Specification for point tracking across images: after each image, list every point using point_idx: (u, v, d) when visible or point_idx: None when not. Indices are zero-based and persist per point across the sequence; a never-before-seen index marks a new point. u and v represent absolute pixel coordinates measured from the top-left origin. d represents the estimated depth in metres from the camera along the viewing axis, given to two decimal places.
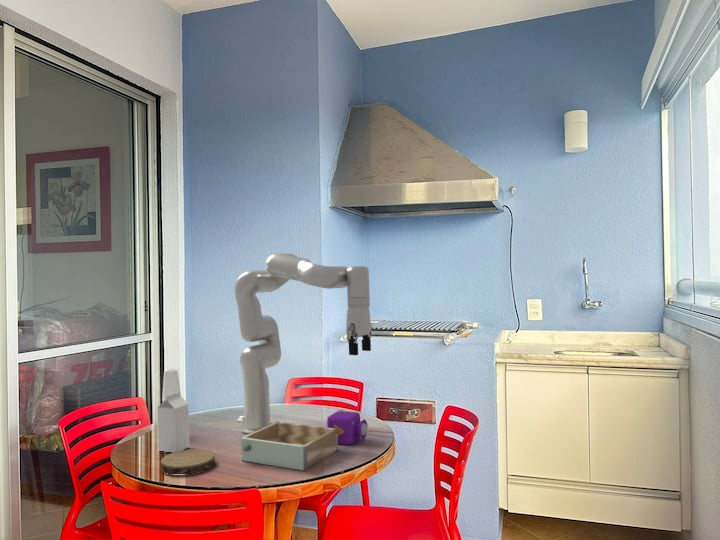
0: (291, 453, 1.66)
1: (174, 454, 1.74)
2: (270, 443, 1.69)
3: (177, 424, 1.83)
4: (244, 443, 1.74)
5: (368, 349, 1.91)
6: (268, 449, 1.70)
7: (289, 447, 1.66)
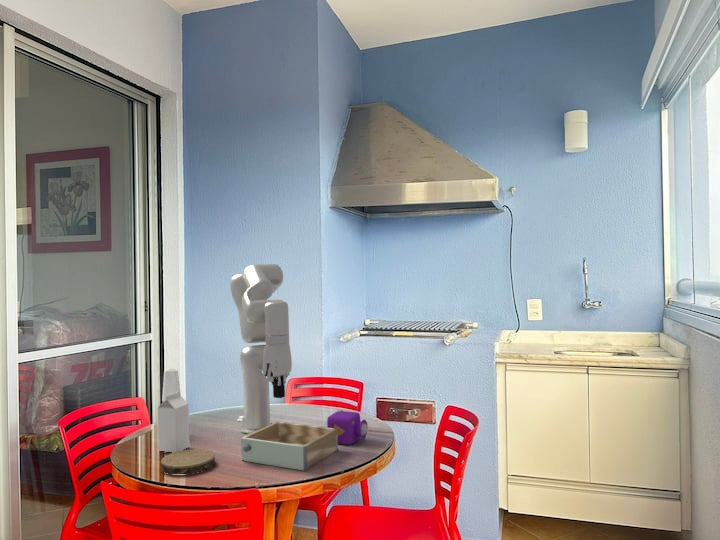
0: (291, 453, 1.66)
1: (174, 454, 1.74)
2: (270, 443, 1.69)
3: (177, 424, 1.83)
4: (244, 443, 1.74)
5: None
6: (268, 449, 1.70)
7: (289, 447, 1.66)
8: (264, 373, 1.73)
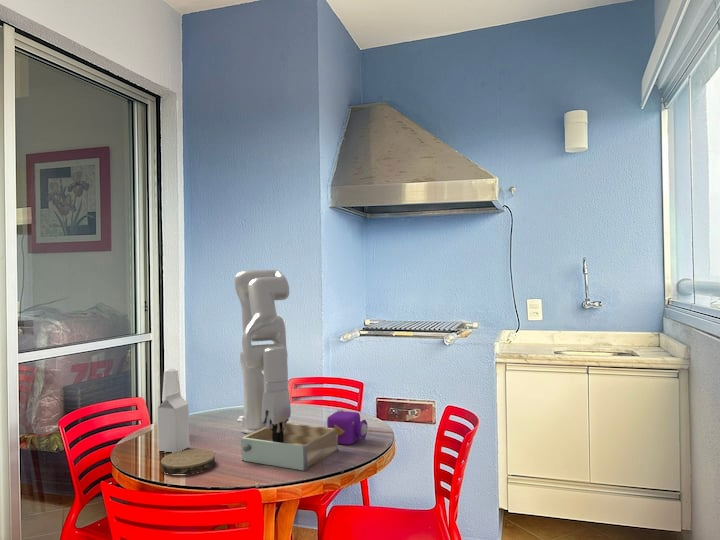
0: (291, 453, 1.66)
1: (174, 454, 1.74)
2: (270, 443, 1.69)
3: (177, 424, 1.83)
4: (244, 443, 1.74)
5: None
6: (268, 449, 1.70)
7: (289, 447, 1.66)
8: (263, 420, 1.72)
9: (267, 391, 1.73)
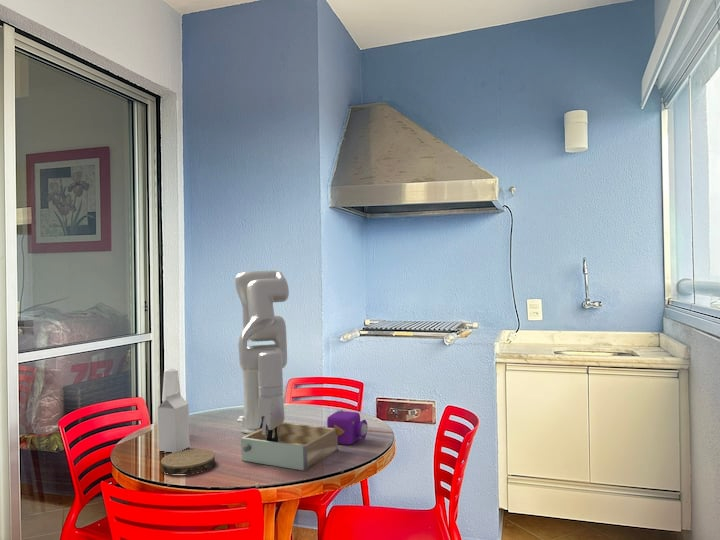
0: (291, 453, 1.66)
1: (174, 454, 1.74)
2: (270, 443, 1.69)
3: (177, 424, 1.83)
4: (244, 443, 1.74)
5: None
6: (268, 449, 1.70)
7: (289, 447, 1.66)
8: (258, 426, 1.69)
9: (263, 396, 1.70)
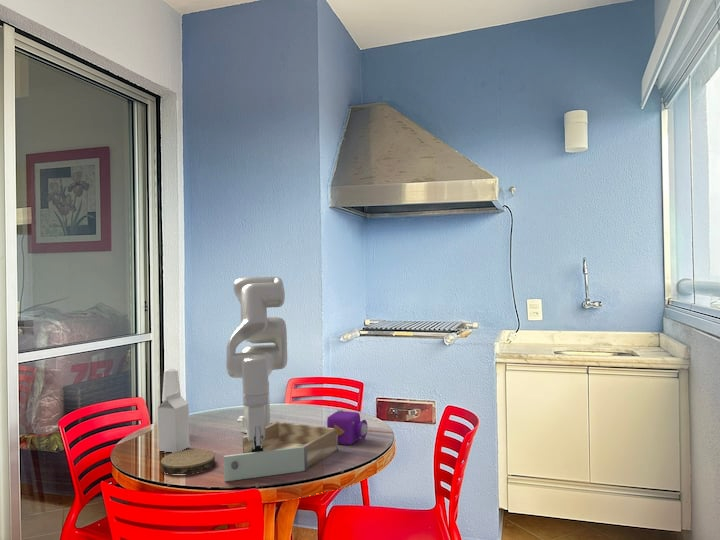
0: (290, 457, 1.62)
1: (174, 454, 1.74)
2: (263, 453, 1.60)
3: (177, 424, 1.83)
4: (228, 461, 1.57)
5: None
6: (261, 460, 1.60)
7: (287, 451, 1.62)
8: (251, 438, 1.58)
9: (254, 405, 1.59)
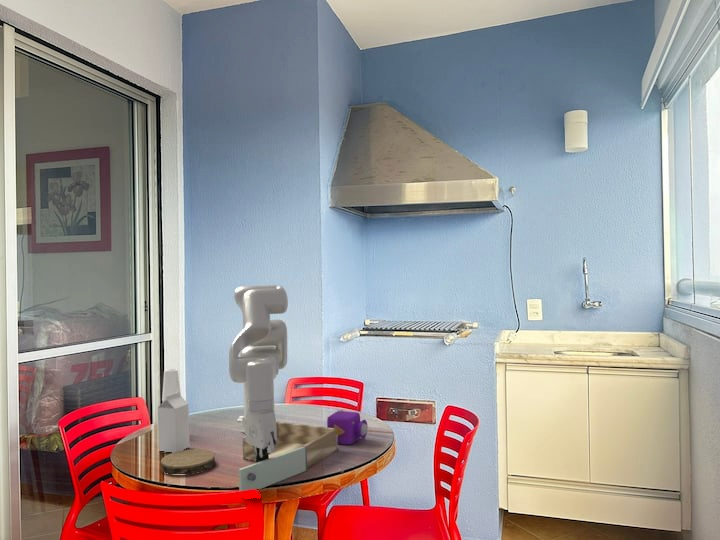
0: (294, 459, 1.61)
1: (174, 454, 1.74)
2: (274, 459, 1.55)
3: (177, 424, 1.83)
4: (244, 474, 1.47)
5: None
6: (272, 467, 1.54)
7: (292, 454, 1.60)
8: (266, 445, 1.51)
9: (265, 411, 1.53)
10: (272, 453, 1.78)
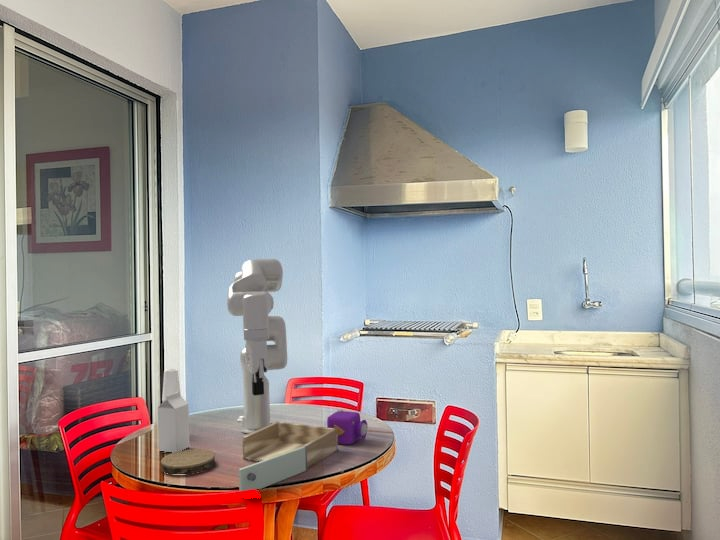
0: (294, 459, 1.61)
1: (174, 454, 1.74)
2: (274, 459, 1.55)
3: (177, 424, 1.83)
4: (244, 474, 1.47)
5: None
6: (272, 467, 1.54)
7: (292, 454, 1.60)
8: (255, 370, 1.63)
9: (257, 339, 1.64)
10: (272, 453, 1.78)
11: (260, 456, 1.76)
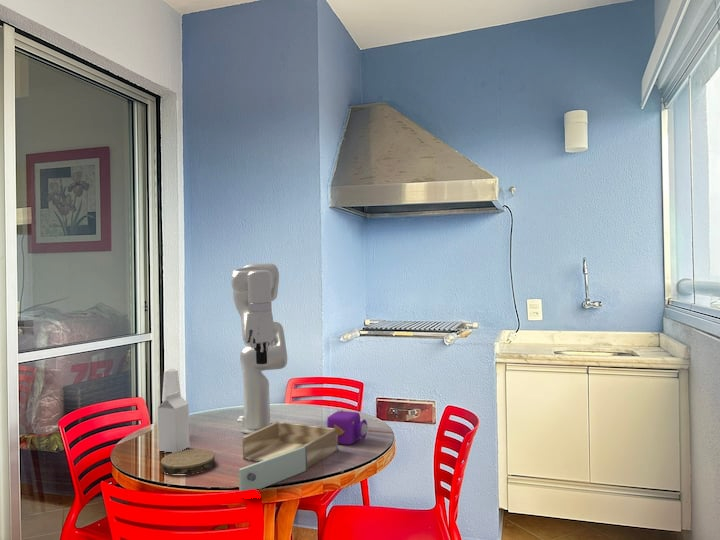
0: (294, 459, 1.61)
1: (174, 454, 1.74)
2: (274, 459, 1.55)
3: (177, 424, 1.83)
4: (244, 474, 1.47)
5: None
6: (272, 467, 1.54)
7: (292, 454, 1.60)
8: (247, 340, 1.79)
9: (251, 312, 1.80)
10: (272, 453, 1.78)
11: (260, 456, 1.76)
